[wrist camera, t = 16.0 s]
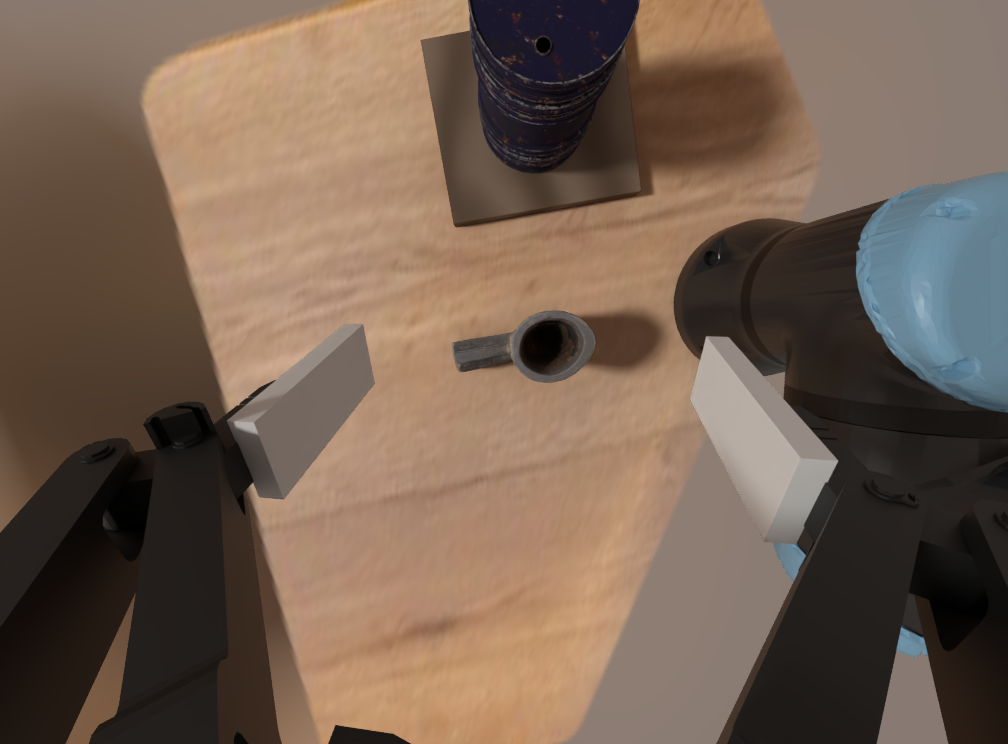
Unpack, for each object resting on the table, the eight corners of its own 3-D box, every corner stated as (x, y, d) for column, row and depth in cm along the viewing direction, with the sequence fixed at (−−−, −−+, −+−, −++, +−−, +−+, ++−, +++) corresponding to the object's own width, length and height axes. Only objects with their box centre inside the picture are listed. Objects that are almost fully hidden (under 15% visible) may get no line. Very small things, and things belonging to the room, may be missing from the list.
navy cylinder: (491, 47, 36) (484, -136, 21) (598, 71, 36) (663, -93, 22) (471, 163, 38) (450, 66, 23) (573, 185, 38) (619, 104, 23)
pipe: (451, 328, 41) (439, 332, 34) (573, 303, 41) (590, 302, 33) (464, 385, 42) (455, 402, 34) (583, 361, 42) (602, 373, 34)
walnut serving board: (615, 15, 37) (619, 2, 36) (635, 195, 39) (641, 190, 38) (423, 50, 38) (420, 40, 36) (455, 227, 40) (453, 223, 38)
